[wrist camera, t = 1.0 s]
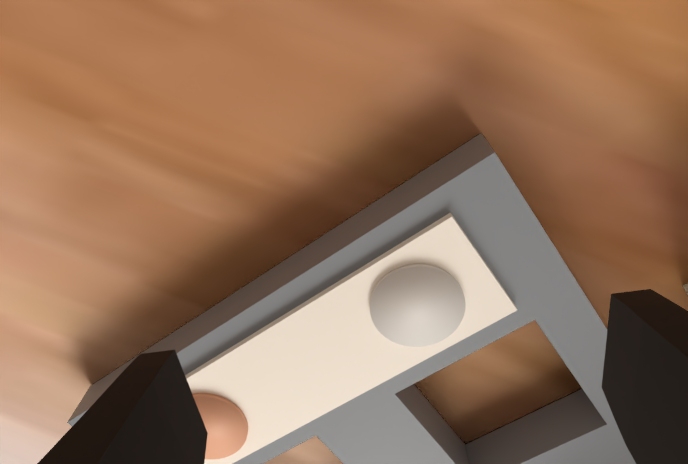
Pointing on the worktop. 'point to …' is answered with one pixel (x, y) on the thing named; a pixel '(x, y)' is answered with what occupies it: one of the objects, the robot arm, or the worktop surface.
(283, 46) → the worktop surface
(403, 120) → the worktop surface
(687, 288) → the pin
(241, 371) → the board
